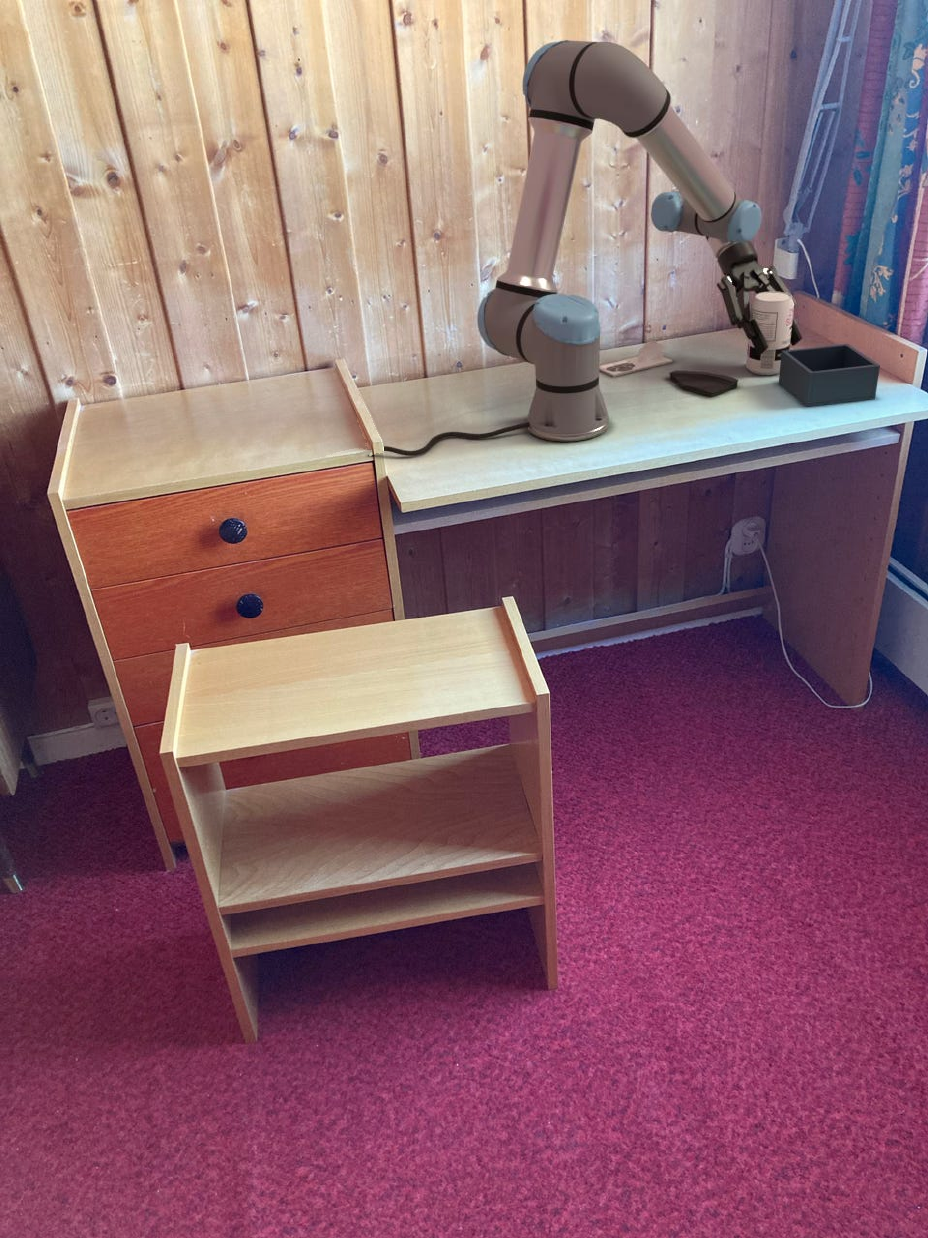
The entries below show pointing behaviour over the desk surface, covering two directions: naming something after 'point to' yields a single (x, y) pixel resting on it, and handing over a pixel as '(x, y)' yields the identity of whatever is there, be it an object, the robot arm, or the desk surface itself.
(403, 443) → the desk surface
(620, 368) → the white plate with bracket
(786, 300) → the supplement can
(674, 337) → the desk surface
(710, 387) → the fan shaped piece
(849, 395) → the bin
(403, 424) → the desk surface
